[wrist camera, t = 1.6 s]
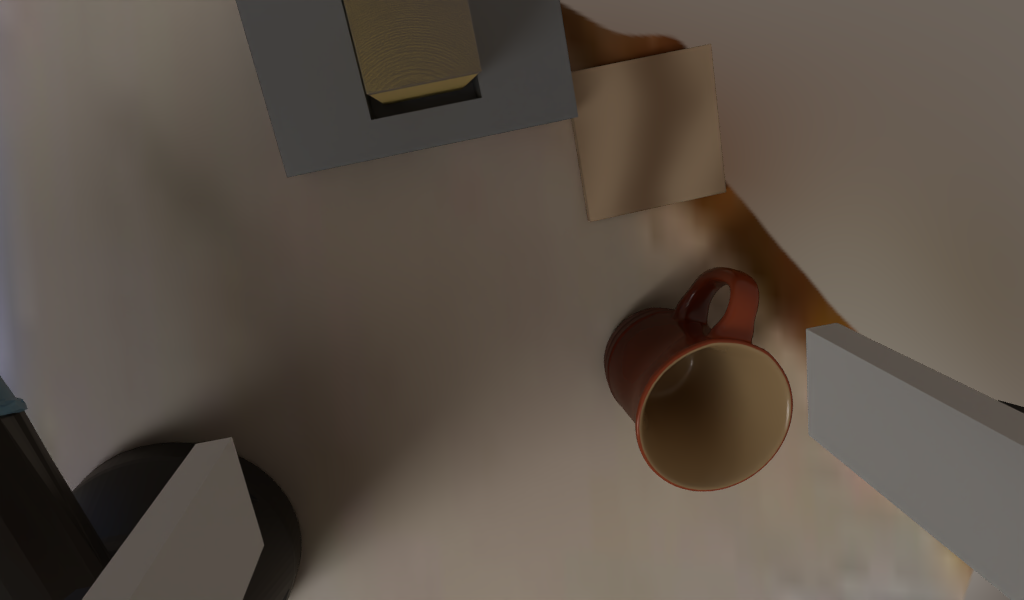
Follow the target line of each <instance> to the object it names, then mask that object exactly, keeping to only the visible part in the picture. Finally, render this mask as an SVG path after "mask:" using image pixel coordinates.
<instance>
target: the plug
mask: <svg viewBox="0 0 1024 600" xmlns="http://www.w3.org/2000/svg"><path fill="white" fill-rule="evenodd" d="M343 1H344V5H345V9H346V13H347V17H348V21H349V25H350V29H351V33H352V37H353V41H354V45H355V49H356V53H357V57H358V61H359V65H360V69H361V73H362V77H363V81H364V85H365V89H366V93H367V95H370V96H372V97H373V98H375V99H376V100H378V101H380V102H381V103H383V104H384V105H387V104H392V103H397V102H402V101H407V100H412V99H417V98H422V97H427V96H432V95H437V94H442V93H447V92H452V91H457V90H461V89H463V88H464V87H465V86H466V85H467V84H468V83H469V82H470V81H471V80H472V79H473V78H474V77H475V76H476V75H477V74H479V73H480V72H482V69H481V64H480V59H479V54H478V49H477V44H476V39H475V34H474V29H473V24H472V19H471V14H470V9H469V4H468V0H343Z"/></svg>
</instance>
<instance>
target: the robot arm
mask: <svg viewBox="0 0 1024 600" xmlns="http://www.w3.org/2000/svg"><path fill="white" fill-rule="evenodd" d="M806 347H807V389H808V430H809V436H811V437H812V438H813V439H814V440H816V441H817V442H818V443H819V444H820V445H822V446H823V447H824V448H825V449H827V450H828V451H829V452H830V453H831V454H833V455H834V456H835V457H836V458H838V459H839V460H840V461H841V462H843V463H844V464H845V465H846V466H847V467H849V468H850V469H851V470H852V471H854V472H855V473H856V474H857V475H858V476H860V477H861V478H862V479H863V480H865V481H866V482H867V483H868V484H869V485H871V486H872V487H873V488H874V489H876V490H877V491H878V492H879V493H880V494H882V495H883V496H884V497H885V498H887V499H888V500H889V501H890V502H892V503H893V504H894V505H895V506H896V507H898V508H899V509H900V510H901V511H903V512H904V513H905V514H906V515H907V516H909V517H910V518H911V519H912V520H914V521H915V522H916V523H917V524H918V525H920V526H921V527H922V528H923V529H925V530H926V531H927V532H928V533H929V534H931V535H932V536H933V537H934V538H936V539H937V540H938V541H939V542H941V543H942V544H943V545H944V546H945V547H947V548H948V549H949V550H950V551H952V552H953V553H954V554H955V555H956V556H958V557H959V558H960V559H961V560H963V561H964V562H965V563H966V564H967V565H969V566H970V567H971V568H972V569H974V570H975V571H976V572H978V573H979V574H980V575H981V576H982V577H983V578H985V579H986V580H987V581H988V582H990V583H991V584H992V585H993V586H995V587H996V588H997V589H998V590H999V591H1001V592H1002V593H1003V594H1004V595H1005V596H1007V597H1008V598H1009V599H1010V600H1024V407H1021V406H1018V405H1014V404H1010V403H1006V402H1003V401H999V400H998V401H997V400H995V399H993V398H991V397H989V396H987V395H985V394H982V393H980V392H979V391H977V390H974V389H972V388H970V387H968V386H966V385H964V384H962V383H960V382H958V381H956V380H954V379H952V378H949V377H948V376H946V375H943V374H941V373H939V372H937V371H935V370H933V369H931V368H929V367H927V366H925V365H923V364H921V363H919V362H917V361H914V360H913V359H911V358H908V357H906V356H904V355H902V354H900V353H898V352H896V351H894V350H892V349H890V348H888V347H886V346H884V345H882V344H880V343H878V342H875V341H873V340H871V339H869V338H867V337H865V336H863V335H861V334H859V333H857V332H855V331H853V330H851V329H849V328H847V327H845V326H842V325H840V324H838V323H834V324H829V325H823V326H818V327H813V328H808V329H806ZM26 409H28V408H27V406H26V404H25V402H24V401H23V400H22V399H20V398H16V397H15V396H14V395H13V393H12V392H11V390H10V389H9V387H8V386H7V385H6V383H5V382H4V380H3V379H2V378H1V376H0V600H288V598H289V596H290V593H291V590H292V588H293V584H294V581H295V577H296V574H297V570H298V566H299V562H300V557H301V533H300V528H299V524H298V520H297V517H296V514H295V512H294V510H293V508H292V505H291V504H290V502H289V500H288V499H287V497H286V496H285V494H284V493H283V491H282V490H281V489H280V488H279V486H278V485H277V484H276V483H275V482H274V481H273V480H272V479H271V478H270V477H269V476H268V475H267V474H265V473H264V472H263V471H262V470H260V469H259V468H258V467H256V466H255V465H253V464H252V463H250V462H248V461H246V460H245V459H243V458H241V457H239V456H238V455H237V452H236V449H235V445H234V442H233V439H232V437H230V438H224V439H219V440H214V441H208V442H203V443H198V444H191V443H162V444H154V445H149V446H144V447H140V448H136V449H133V450H130V451H127V452H125V453H122V454H120V455H118V456H116V457H114V458H112V459H110V460H108V461H107V462H105V463H103V464H102V465H100V466H99V467H98V468H96V469H95V470H94V471H92V472H91V473H90V474H89V475H88V476H87V477H86V478H85V479H84V480H83V481H82V482H81V483H80V484H79V485H78V486H77V487H76V488H75V489H74V490H73V491H71V489H70V488H69V486H68V485H67V483H66V481H65V480H64V478H63V476H62V475H61V473H60V471H59V470H58V468H57V466H56V465H55V463H54V462H53V460H52V458H51V457H50V455H49V453H48V451H47V450H46V448H45V446H44V444H43V443H42V441H41V439H40V437H39V436H38V434H37V432H36V430H35V429H34V427H33V425H32V423H31V422H30V420H29V418H28V416H27V415H26V413H25V411H24V410H26Z"/></svg>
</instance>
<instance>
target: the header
mask: <svg viewBox="0 0 1024 600" xmlns="http://www.w3.org/2000/svg"><path fill="white" fill-rule="evenodd" d="M236 3H237V7H238V10H239V13H240V17H241V20H242V24H243V27H244V31H245V34H246V38H247V41H248V44H249V48H250V51H251V55H252V58H253V62H254V65H255V68H256V72H257V75H258V79H259V82H260V86H261V89H262V93H263V96H264V99H265V103H266V106H267V110H268V113H269V117H270V120H271V124H272V127H273V130H274V134H275V137H276V141H277V144H278V148H279V151H280V154H281V158H282V161H283V165H284V168H285V172H286V175H287V177H292V176H297V175H301V174H306V173H311V172H316V171H321V170H325V169H330V168H335V167H340V166H345V165H350V164H354V163H359V162H364V161H369V160H374V159H379V158H383V157H388V156H393V155H398V154H403V153H407V152H412V151H417V150H422V149H427V148H432V147H436V146H441V145H446V144H451V143H456V142H461V141H465V140H470V139H475V138H480V137H485V136H490V135H494V134H499V133H504V132H509V131H514V130H518V129H523V128H528V127H533V126H538V125H543V124H547V123H552V122H557V121H562V120H567V119H572V118H576V117H578V112H577V105H576V99H575V93H574V87H573V81H572V74H571V68H570V62H569V56H568V50H567V43H566V37H565V31H564V25H563V19H562V12H561V6H560V0H468V4H469V9H470V14H471V19H472V24H473V29H474V34H475V39H476V44H477V49H478V54H479V59H480V64H481V69H482V72H480V73H479V74H477V75H476V76H475V77H474V78H473V79H472V80H471V81H470V82H469V83H468V84H467V85H466V86H465V87H464V88H463V89H461V90H457V91H452V92H447V93H442V94H437V95H432V96H427V97H422V98H417V99H412V100H407V101H402V102H397V103H392V104H387V105H384V104H383V103H381V102H380V101H378V100H376V99H375V98H373V97H372V96H370V95H367V93H366V89H365V85H364V81H363V77H362V73H361V69H360V65H359V61H358V57H357V53H356V49H355V45H354V41H353V37H352V33H351V29H350V25H349V21H348V17H347V13H346V9H345V5H344V1H343V0H236Z"/></svg>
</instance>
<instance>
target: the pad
mask: <svg viewBox="0 0 1024 600" xmlns="http://www.w3.org/2000/svg"><path fill="white" fill-rule="evenodd" d="M571 74H572V81H573V87H574V93H575V99H576V105H577V112H578V117H576V118H572V119H571V120H572V126H573V132H574V138H575V144H576V150H577V156H578V162H579V168H580V174H581V180H582V187H583V193H584V199H585V205H586V211H587V217H588V221H590V222H592V221H597V220H602V219H606V218H611V217H615V216H620V215H624V214H629V213H633V212H638V211H642V210H647V209H651V208H656V207H660V206H665V205H670V204H674V203H679V202H683V201H688V200H692V199H697V198H701V197H706V196H710V195H715V194H719V193H724V192H726V185H725V176H724V166H723V156H722V147H721V137H720V127H719V118H718V107H717V98H716V88H715V78H714V68H713V59H712V49H711V44H708V45H703V46H698V47H693V48H688V49H683V50H678V51H673V52H668V53H663V54H658V55H653V56H648V57H643V58H638V59H633V60H628V61H623V62H618V63H613V64H608V65H603V66H599V67H594V68H589V69H584V70H579V71H574V72H571Z"/></svg>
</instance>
